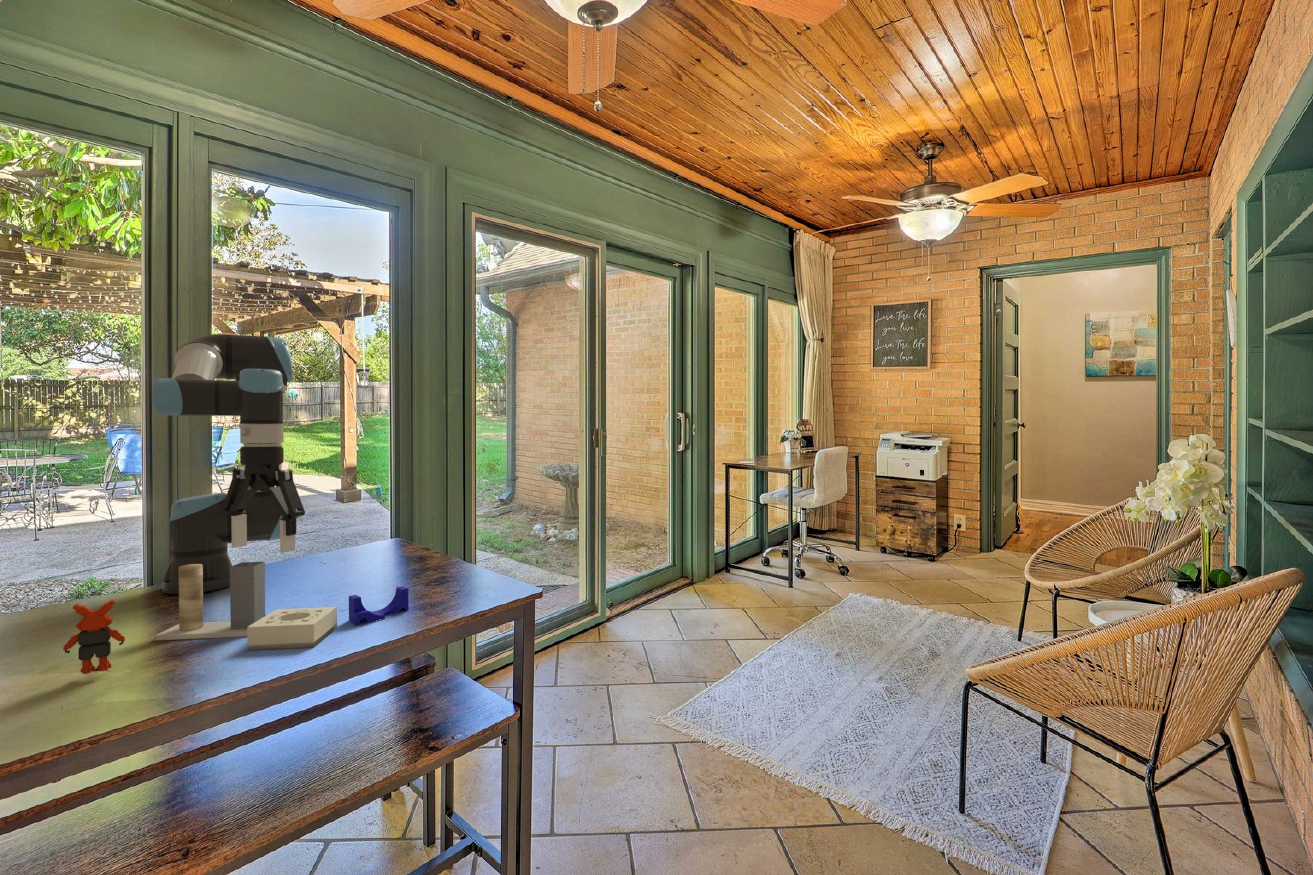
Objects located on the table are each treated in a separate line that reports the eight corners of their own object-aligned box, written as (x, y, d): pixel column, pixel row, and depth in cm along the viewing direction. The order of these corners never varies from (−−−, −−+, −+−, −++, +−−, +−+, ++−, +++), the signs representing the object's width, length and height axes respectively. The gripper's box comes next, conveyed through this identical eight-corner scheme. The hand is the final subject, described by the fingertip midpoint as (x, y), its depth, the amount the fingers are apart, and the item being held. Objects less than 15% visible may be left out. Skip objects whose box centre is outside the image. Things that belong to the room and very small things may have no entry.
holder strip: (179, 628, 134) (179, 623, 134) (280, 623, 137) (280, 619, 137) (155, 640, 126) (155, 635, 126) (262, 635, 129) (262, 630, 129)
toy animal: (127, 659, 116) (126, 594, 116) (124, 668, 111) (123, 600, 111) (68, 668, 111) (67, 601, 111) (62, 678, 107) (61, 608, 107)
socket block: (276, 630, 132) (276, 609, 132) (337, 628, 134) (336, 606, 134) (247, 650, 120) (247, 626, 120) (314, 647, 122) (313, 624, 122)
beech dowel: (186, 625, 133) (186, 564, 132) (207, 624, 133) (206, 563, 133) (174, 631, 129) (174, 568, 128) (196, 630, 129) (195, 567, 129)
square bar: (242, 622, 134) (241, 562, 134) (265, 621, 135) (264, 561, 135) (230, 629, 130) (229, 566, 130) (254, 628, 130) (253, 566, 130)
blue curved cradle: (356, 627, 135) (356, 599, 134) (348, 623, 138) (348, 596, 138) (411, 615, 143) (411, 589, 143) (402, 611, 146) (402, 586, 146)
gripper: (200, 444, 129) (202, 547, 129) (291, 447, 120) (292, 557, 121) (236, 443, 136) (237, 541, 136) (324, 445, 127) (324, 549, 128)
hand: (263, 549), depth 129 cm, fingers open, 13 cm apart
